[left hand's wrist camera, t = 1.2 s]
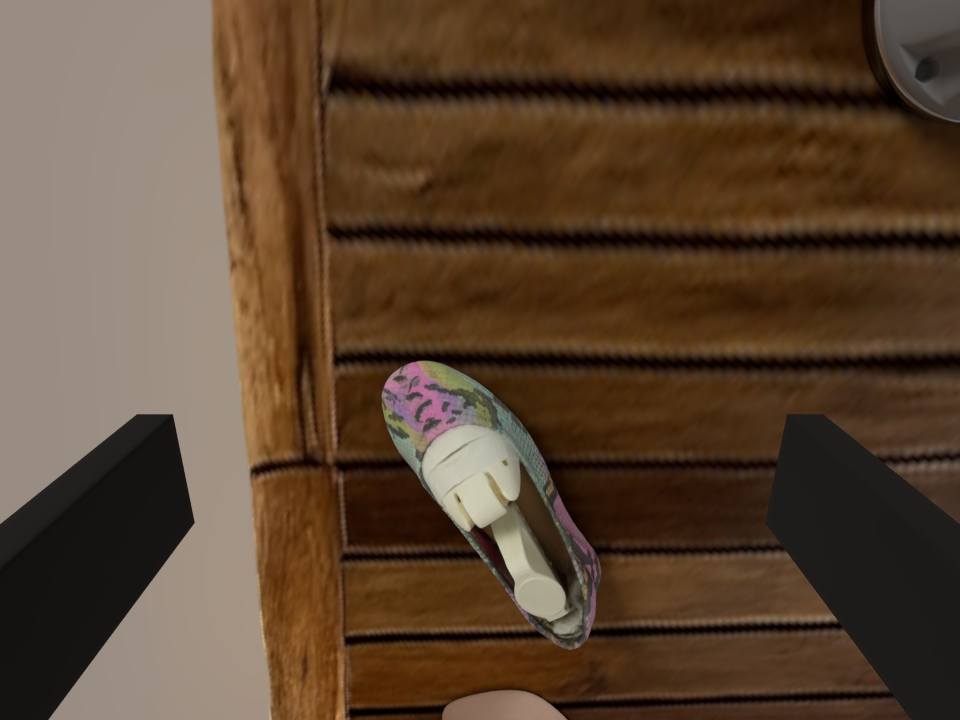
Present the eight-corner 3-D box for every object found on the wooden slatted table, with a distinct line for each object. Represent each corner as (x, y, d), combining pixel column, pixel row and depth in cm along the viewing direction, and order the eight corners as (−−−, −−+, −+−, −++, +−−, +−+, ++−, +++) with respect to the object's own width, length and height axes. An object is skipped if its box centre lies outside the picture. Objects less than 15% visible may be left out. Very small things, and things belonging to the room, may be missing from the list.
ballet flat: (461, 323, 41) (461, 369, 33) (621, 564, 48) (653, 650, 40) (362, 384, 42) (338, 442, 34) (532, 609, 50) (546, 701, 41)
